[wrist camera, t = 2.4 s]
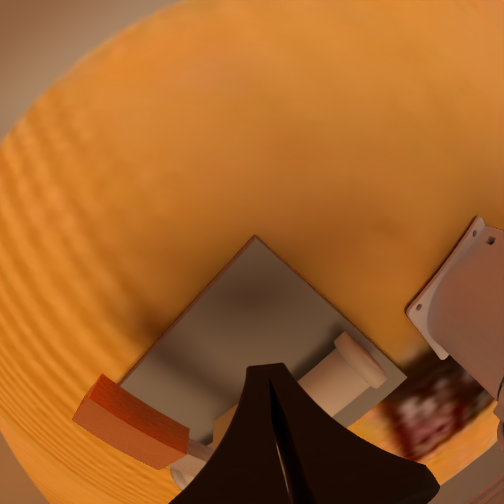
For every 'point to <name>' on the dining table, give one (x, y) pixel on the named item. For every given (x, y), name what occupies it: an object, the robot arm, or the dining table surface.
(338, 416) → the pipe board
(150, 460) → the valve lever
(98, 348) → the dining table surface
